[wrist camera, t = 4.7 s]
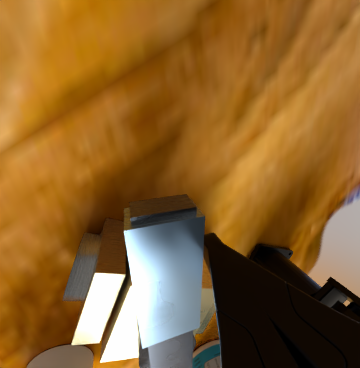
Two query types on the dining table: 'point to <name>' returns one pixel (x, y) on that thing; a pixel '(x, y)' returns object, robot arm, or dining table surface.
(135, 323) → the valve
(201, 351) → the beverage bottle
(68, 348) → the mug
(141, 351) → the lever
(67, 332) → the dining table surface
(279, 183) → the dining table surface
